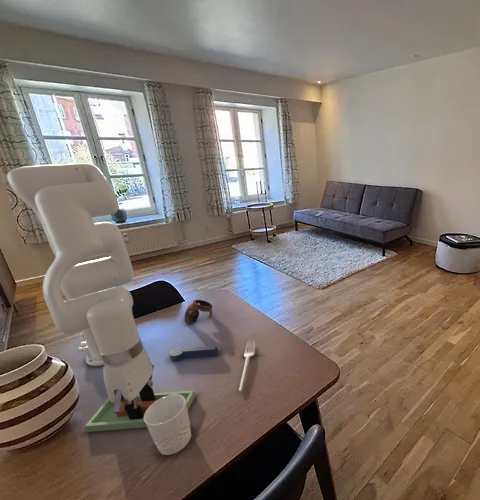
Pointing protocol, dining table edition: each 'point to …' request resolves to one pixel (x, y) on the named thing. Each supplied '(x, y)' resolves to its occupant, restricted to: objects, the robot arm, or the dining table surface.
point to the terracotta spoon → (143, 404)
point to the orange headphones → (196, 310)
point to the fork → (247, 362)
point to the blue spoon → (192, 352)
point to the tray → (110, 421)
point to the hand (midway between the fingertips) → (143, 408)
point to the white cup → (169, 423)
